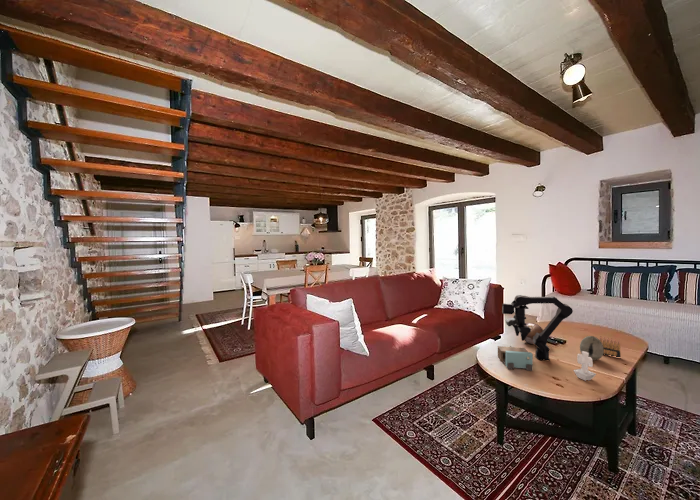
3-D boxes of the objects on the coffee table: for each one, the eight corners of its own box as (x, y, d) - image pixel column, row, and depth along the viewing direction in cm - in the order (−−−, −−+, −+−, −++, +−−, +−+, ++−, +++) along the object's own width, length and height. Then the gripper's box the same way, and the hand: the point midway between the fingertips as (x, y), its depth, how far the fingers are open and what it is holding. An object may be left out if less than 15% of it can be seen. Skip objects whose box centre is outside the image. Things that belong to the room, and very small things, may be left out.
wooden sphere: (519, 344, 211) (519, 324, 210) (520, 338, 224) (521, 319, 223) (544, 348, 203) (544, 327, 202) (544, 341, 215) (544, 321, 215)
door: (507, 367, 175) (507, 352, 175) (505, 365, 179) (505, 350, 178) (533, 369, 172) (533, 354, 171) (531, 366, 175) (531, 352, 175)
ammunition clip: (620, 358, 186) (621, 339, 185) (620, 358, 185) (620, 340, 184) (598, 353, 194) (599, 335, 193) (598, 353, 193) (598, 336, 192)
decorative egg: (581, 354, 193) (581, 331, 192) (604, 359, 185) (605, 336, 184) (578, 359, 185) (578, 336, 184) (602, 365, 177) (603, 341, 176)
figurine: (597, 380, 159) (598, 353, 159) (584, 382, 157) (585, 355, 156) (584, 374, 166) (584, 348, 166) (571, 376, 164) (572, 350, 163)
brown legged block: (524, 358, 188) (524, 347, 188) (535, 371, 171) (535, 359, 171) (497, 356, 192) (497, 346, 192) (505, 368, 175) (505, 357, 174)
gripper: (501, 310, 202) (502, 332, 203) (511, 318, 183) (511, 342, 184) (519, 311, 200) (519, 333, 200) (531, 319, 181) (531, 343, 182)
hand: (519, 338), depth 192 cm, fingers open, 9 cm apart
